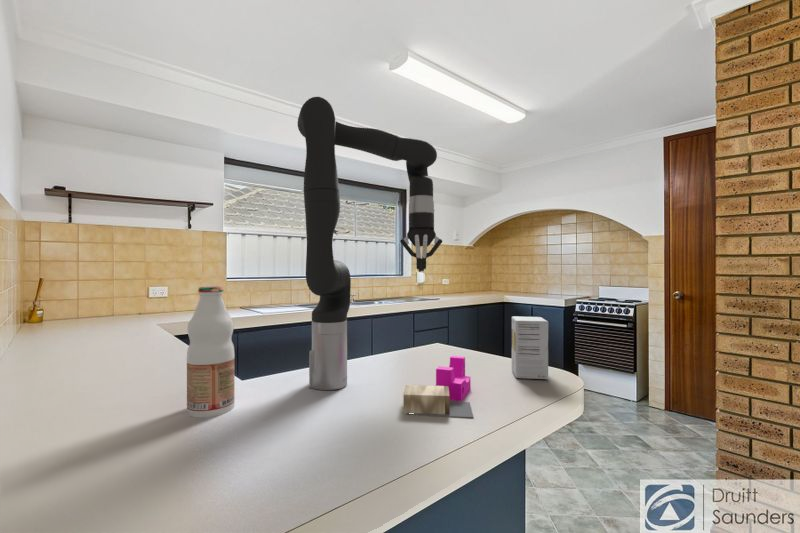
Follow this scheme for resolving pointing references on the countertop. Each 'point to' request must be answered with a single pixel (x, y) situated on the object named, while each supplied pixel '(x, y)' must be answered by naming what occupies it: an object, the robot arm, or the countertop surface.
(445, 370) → the toy block
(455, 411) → the mat
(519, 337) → the supplement box
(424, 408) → the ash block
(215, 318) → the fruit juice
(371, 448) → the countertop surface
